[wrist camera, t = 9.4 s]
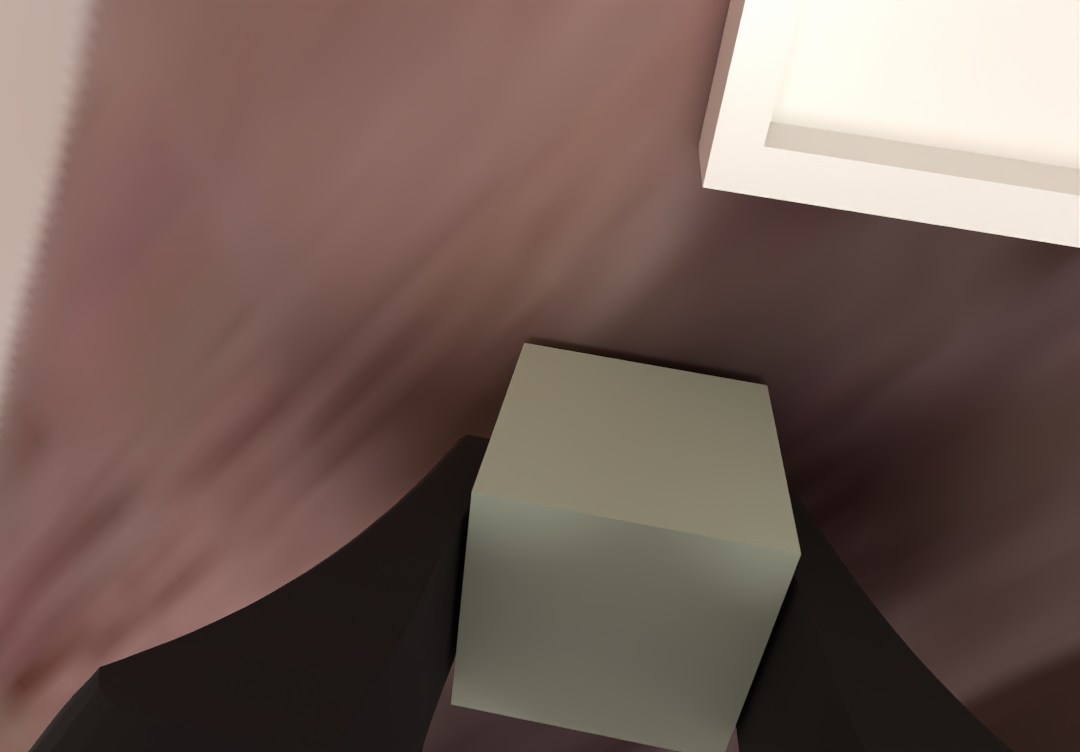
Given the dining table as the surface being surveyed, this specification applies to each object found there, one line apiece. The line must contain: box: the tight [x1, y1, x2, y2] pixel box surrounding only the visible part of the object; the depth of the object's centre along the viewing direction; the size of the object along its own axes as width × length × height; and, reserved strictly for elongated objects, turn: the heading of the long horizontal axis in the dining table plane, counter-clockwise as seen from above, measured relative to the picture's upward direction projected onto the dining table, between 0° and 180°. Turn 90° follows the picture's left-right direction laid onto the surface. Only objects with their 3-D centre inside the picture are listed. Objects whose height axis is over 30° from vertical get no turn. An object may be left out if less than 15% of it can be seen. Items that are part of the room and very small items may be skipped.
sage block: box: [451, 343, 801, 752], centre depth 12 cm, size 4×4×4 cm
